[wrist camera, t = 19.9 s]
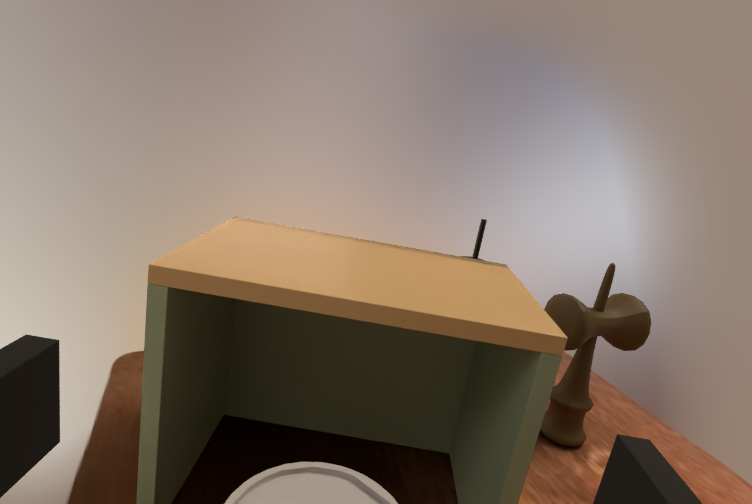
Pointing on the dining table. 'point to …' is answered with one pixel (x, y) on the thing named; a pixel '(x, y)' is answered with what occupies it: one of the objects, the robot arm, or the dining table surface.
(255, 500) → the disposable coffee cup
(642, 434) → the dining table surface
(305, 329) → the cabinet
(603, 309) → the kendama
